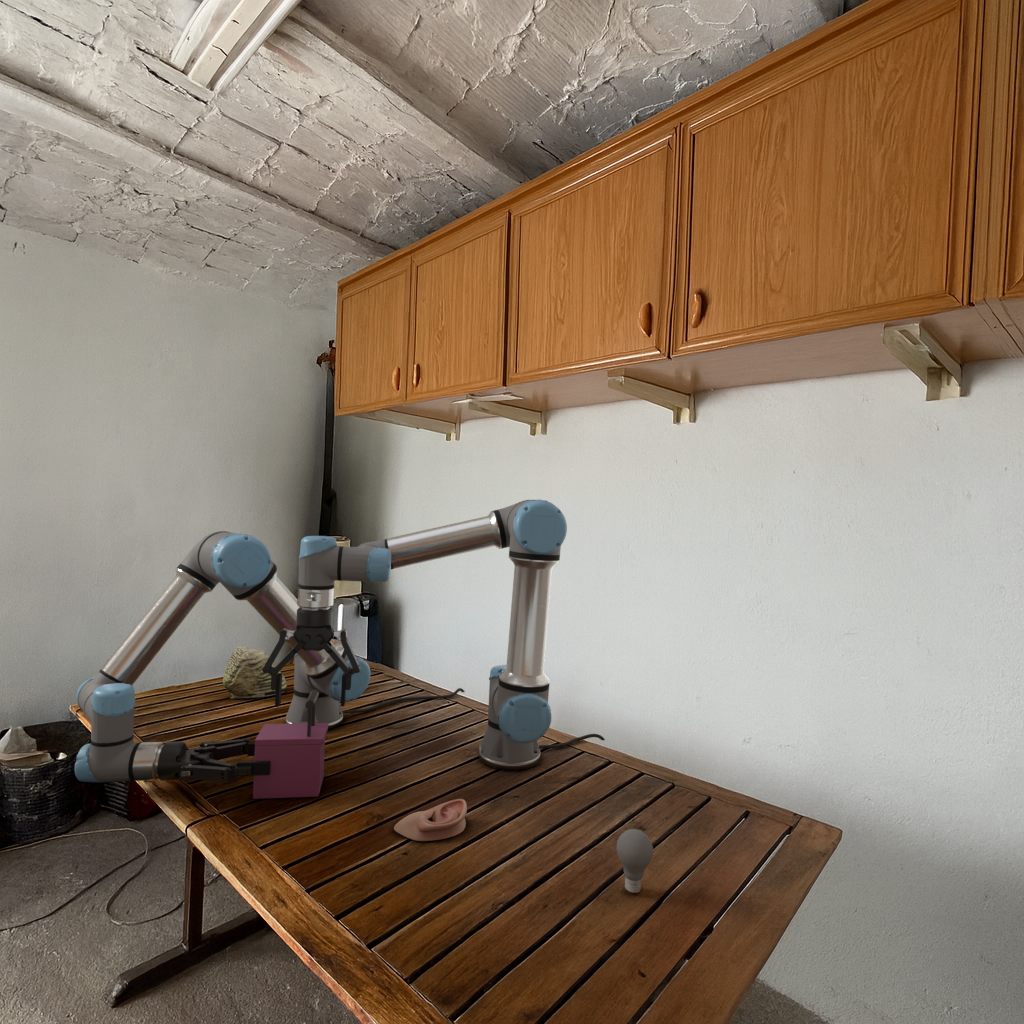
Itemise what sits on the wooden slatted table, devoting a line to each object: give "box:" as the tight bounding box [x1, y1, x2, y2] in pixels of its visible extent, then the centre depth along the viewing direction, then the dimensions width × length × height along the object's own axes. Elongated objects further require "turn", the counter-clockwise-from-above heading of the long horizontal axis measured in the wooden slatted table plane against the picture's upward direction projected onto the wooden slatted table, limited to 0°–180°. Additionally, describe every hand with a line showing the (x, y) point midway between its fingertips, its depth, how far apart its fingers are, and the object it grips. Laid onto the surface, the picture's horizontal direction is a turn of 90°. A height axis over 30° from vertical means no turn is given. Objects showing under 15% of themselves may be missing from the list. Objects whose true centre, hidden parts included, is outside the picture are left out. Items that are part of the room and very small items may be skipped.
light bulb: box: [615, 828, 654, 894], centre depth 106 cm, size 6×6×10 cm
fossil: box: [222, 646, 288, 699], centre depth 198 cm, size 9×18×15 cm, turn 132°
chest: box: [252, 739, 326, 800], centre depth 137 cm, size 13×9×11 cm
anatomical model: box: [393, 798, 468, 842], centre depth 123 cm, size 13×4×12 cm
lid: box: [254, 690, 329, 746], centre depth 137 cm, size 14×9×9 cm
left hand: (274, 757), depth 137 cm, fingers closed on chest, 9 cm apart
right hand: (310, 704), depth 138 cm, fingers open, 13 cm apart
